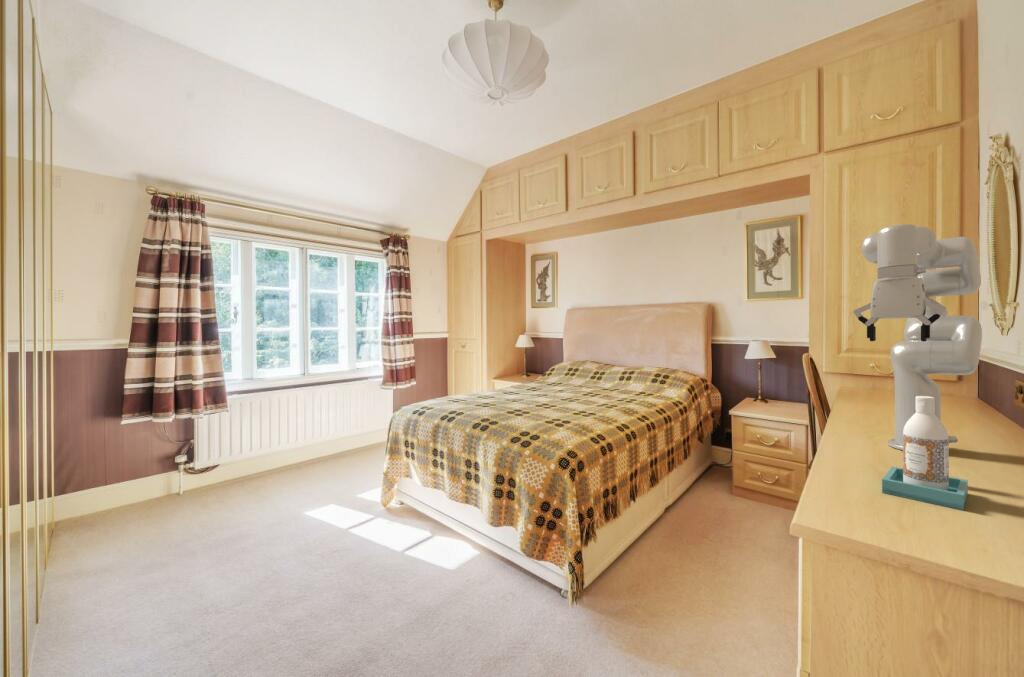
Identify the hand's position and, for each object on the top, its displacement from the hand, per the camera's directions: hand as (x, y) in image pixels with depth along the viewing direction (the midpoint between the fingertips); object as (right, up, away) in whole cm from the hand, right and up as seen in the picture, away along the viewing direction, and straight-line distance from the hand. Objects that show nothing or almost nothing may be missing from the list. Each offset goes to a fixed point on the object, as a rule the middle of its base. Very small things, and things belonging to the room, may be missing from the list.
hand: (897, 341), depth 105 cm
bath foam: (-9, -32, -16) cm, 37 cm away
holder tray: (-10, -33, -16) cm, 38 cm away
